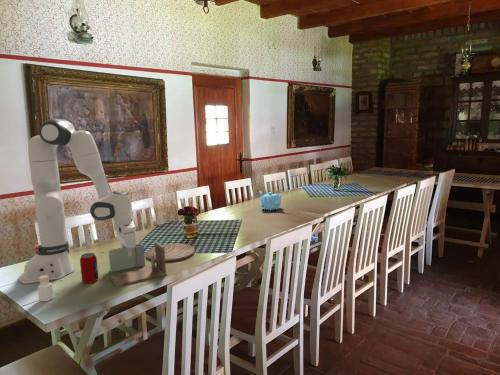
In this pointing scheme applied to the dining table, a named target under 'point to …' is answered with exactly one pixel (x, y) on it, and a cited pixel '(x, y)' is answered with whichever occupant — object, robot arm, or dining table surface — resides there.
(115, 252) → the pale green grey block
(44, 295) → the pepper shaker
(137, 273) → the cabinet base
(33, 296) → the dining table surface
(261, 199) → the teapot
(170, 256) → the trivet
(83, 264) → the beverage can
